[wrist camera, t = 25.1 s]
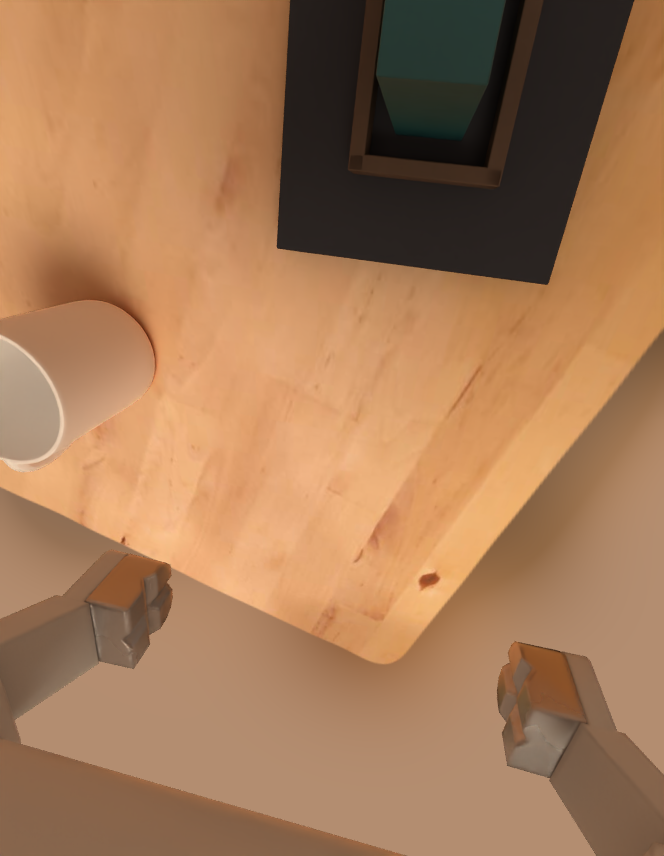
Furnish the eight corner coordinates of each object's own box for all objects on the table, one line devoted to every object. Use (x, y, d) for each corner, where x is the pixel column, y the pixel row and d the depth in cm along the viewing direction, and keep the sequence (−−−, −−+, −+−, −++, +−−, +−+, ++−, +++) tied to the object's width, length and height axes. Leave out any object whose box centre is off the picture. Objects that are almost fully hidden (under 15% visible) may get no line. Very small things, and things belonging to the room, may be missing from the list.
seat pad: (686, -214, 19) (746, -314, 16) (540, 280, 28) (557, 289, 24) (313, -218, 21) (291, -308, 17) (285, 246, 30) (266, 250, 26)
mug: (132, 455, 39) (40, 529, 30) (43, 409, 38) (-77, 468, 29) (172, 331, 33) (76, 374, 24) (70, 276, 33) (-67, 298, 24)
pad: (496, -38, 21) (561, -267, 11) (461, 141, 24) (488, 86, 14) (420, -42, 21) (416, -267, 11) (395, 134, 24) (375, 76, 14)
